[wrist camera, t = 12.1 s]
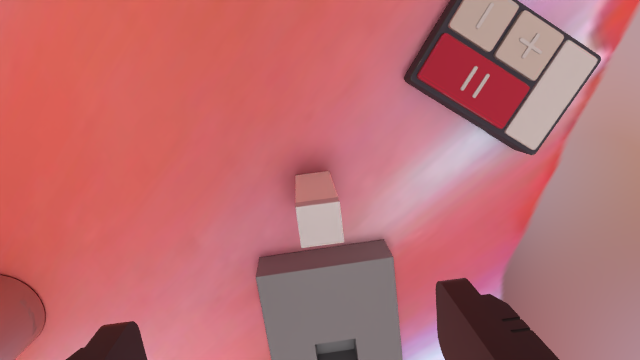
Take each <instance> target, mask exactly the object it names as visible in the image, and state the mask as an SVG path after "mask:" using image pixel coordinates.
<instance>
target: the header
mask: <svg viewBox="0 0 640 360" xmlns="http://www.w3.org/2000/svg"><path fill="white" fill-rule="evenodd" d="M256 281H257V286H258V291H259V297H260V302H261V307H262V312H263V318H264V323H265V328H266V333H267V339H268V344H269V349H270V355H271V360H402V349H401V338H400V327H399V316H398V305H397V294H396V283H395V271H394V260H393V256H392V254H391V252H390V250H389V248H388V246H387V245H386V243H385V241H384V240H377V241H370V242H363V243H356V244H349V245H342V246H335V247H329V248H322V249H315V250H308V251H301V252H294V253H287V254H280V255H273V256H266V257H260V258H259V263H258V268H257V274H256Z"/></svg>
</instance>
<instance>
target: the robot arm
mask: <svg viewBox="0 0 640 360" xmlns="http://www.w3.org/2000/svg"><path fill="white" fill-rule="evenodd" d="M436 308H437V331H438V339H439V344H440V347H441V351H442V354H443V356H444V358H445V360H559V359H558V358H557V357H556V356H555V354H554V353H553V352H552V351H551V350H550V349H549V348H548V347H547V346H546V345H545V344H544V343H543V341H542V340H541V339H540V338H539V337H538V336H537V335H536V334H535V333H534V332H533V331H531V330H530V328H529V326H528V325H527V324H526V323H525V322H524V321H523V320H522V319H521V320H520V317H519V316H518V314H517V313H516V312H515V311H514V310H513V309H512V308H511V307H510V306H509V305H508V304H507V303H505V302H503V301H502V300H500V299H498V298H496V297H494V296H493V295H491V294H486V295H480V294H479V292H478V291H477V290H476V289H475V288H474V286H473V285H472V284H471V283H470V282H469V281H468V280H467V279H466V278H460V279H453V280H445V281H438V282H437V284H436ZM44 323H45V312H44V307H43V305H42V303H41V301H40V299H39V297H38V296H37V295H36V293H35V292H34V291H33V290H32V289H31V288H29V287H28V286H27V285H25V284H24V283H22V282H21V281H19V280H16V279H14V278H11V277H7V276H3V275H0V360H15V359H16V358H17V357H18V356H19V355H20V354H21V353H22V352H23V351H24V350H25V349H26V348H27V347H28V346H29V345H30V344H31V343H32V342H33V341H34V340H35V339H36V338H37V337H38V336H39V334H40V333H41V331H42V329H43V326H44ZM66 360H147V357H146V353H145V349H144V346H143V342H142V338H141V334H140V330H139V327H138V325H137V324H136V323H135V322H134V321H131V322H123V323H116V324H108V325H103V326H102V327H100V329H99V330H98V331H97V332H96V334H95V335H94V336H93V338H92V339H91V340H90V341H89V343H88V344H87V345H86V347H85V348H80V349H79V350H78V351H77V352H75V353H74V354H73V355H71V356H70V357H69V358H67V359H66Z"/></svg>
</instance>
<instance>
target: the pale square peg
mask: <svg viewBox="0 0 640 360" xmlns="http://www.w3.org/2000/svg"><path fill="white" fill-rule="evenodd" d="M295 208H296V215H297V222H298V229H299V235H300V242H301V248H306V247H313V246H321V245H328V244H336V243H343V242H344V235H343V226H342V217H341V209H340V201H339V198H338V195H337V192H336V189H335V186H334V184H333V181H332V178H331V175H330V172H329V171H324V172H316V173H309V174H301V175H295Z"/></svg>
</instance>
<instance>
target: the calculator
mask: <svg viewBox="0 0 640 360" xmlns="http://www.w3.org/2000/svg"><path fill="white" fill-rule="evenodd" d="M600 61H601V57H600V56H599V55H598V54H596V53H595V52H593V51H592V50H590V49H589V48H587V47H586V46H584V45H583V44H581V43H580V42H578V41H577V40H575V39H574V38H572V37H571V36H569V35H568V34H566V33H565V32H563V31H562V30H561V29H559V28H558V27H556V26H555V25H553V24H552V23H550V22H549V21H547V20H546V19H544V18H543V17H541V16H540V15H538V14H537V13H535V12H534V11H532V10H531V9H529V8H528V7H526V6H525V5H523V4H522V3H520V2H519V1H517V0H451V1H450V2H449V4H448V5H447V7H446V9H445V10H444V12H443V14H442V15H441V17H440V19H439V20H438V22H437V24H436V25H435V27H434V29H433V30H432V32H431V34H430V35H429V37H428V38H427V40H426V42H425V43H424V45H423V47H422V48H421V50H420V52H419V53H418V55H417V57H416V58H415V60H414V62H413V63H412V65H411V66H410V68H409V70H408V71H407V73H406V75H405V77H404V79H405V81H406V82H407V83H408V84H410V85H412V86H413V87H415V88H416V89H418V90H420V91H421V92H423V93H424V94H426V95H428V96H429V97H431V98H432V99H434V100H436V101H437V102H439V103H441V104H442V105H444V106H445V107H447V108H449V109H450V110H452V111H454V112H455V113H457V114H458V115H460V116H462V117H463V118H465V119H467V120H468V121H470V122H471V123H473V124H475V125H476V126H478V127H480V128H481V129H483V130H484V131H486V132H487V133H488V134H490V135H492V136H493V137H495V138H496V139H498V140H500V141H501V142H503V143H504V144H506V145H508V146H509V147H511V148H512V149H514V150H517V151H520V152H523V153H526V154H530V155H534V154H535V153H536V152H537V151H538V150H539V148H540V147H541V145H542V144H543V142H544V141H545V140H546V138H547V137H548V135H549V134H550V132H551V131H552V130H553V128H554V127H555V125H556V124H557V123H558V121H559V120H560V118H561V117H562V115H563V114H564V113H565V111H566V110H567V108H568V107H569V106H570V104H571V103H572V101H573V100H574V98H575V97H576V96H577V94H578V93H579V91H580V90H581V88H582V87H583V86H584V84H585V83H586V81H587V80H588V79H589V77H590V76H591V74H592V73H593V71H594V70H595V69H596V67H597V66H598V64H599V63H600Z"/></svg>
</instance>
